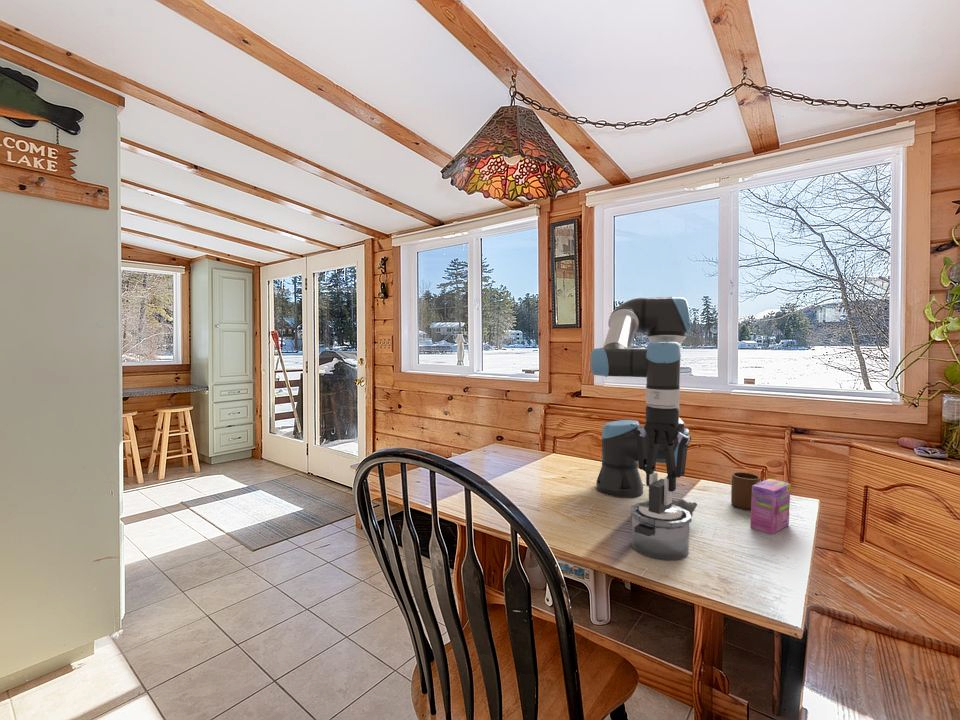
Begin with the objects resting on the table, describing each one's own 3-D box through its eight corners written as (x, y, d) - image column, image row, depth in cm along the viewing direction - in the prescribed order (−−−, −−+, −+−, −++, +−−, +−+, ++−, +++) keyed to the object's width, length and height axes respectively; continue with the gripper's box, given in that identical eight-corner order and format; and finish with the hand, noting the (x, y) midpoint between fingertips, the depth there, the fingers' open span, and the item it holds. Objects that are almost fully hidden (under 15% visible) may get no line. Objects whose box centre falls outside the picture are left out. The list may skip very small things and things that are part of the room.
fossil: (678, 516, 136) (679, 488, 136) (705, 527, 128) (706, 498, 128) (649, 522, 131) (650, 494, 131) (675, 535, 123) (676, 505, 123)
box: (772, 535, 123) (774, 490, 123) (749, 528, 128) (751, 484, 127) (789, 525, 129) (791, 483, 129) (767, 519, 134) (768, 478, 133)
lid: (631, 514, 115) (631, 482, 115) (649, 503, 122) (650, 474, 122) (671, 526, 108) (672, 492, 108) (689, 514, 115) (689, 482, 115)
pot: (614, 550, 114) (615, 514, 114) (650, 529, 127) (651, 496, 126) (670, 570, 104) (671, 530, 104) (702, 545, 117) (703, 509, 117)
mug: (777, 515, 137) (778, 483, 136) (754, 517, 135) (755, 484, 135) (746, 501, 148) (747, 471, 148) (725, 502, 147) (726, 472, 147)
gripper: (623, 404, 117) (622, 497, 118) (689, 411, 106) (687, 514, 107) (638, 401, 122) (637, 490, 124) (702, 407, 111) (700, 506, 112)
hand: (660, 501), depth 115 cm, fingers open, 3 cm apart
